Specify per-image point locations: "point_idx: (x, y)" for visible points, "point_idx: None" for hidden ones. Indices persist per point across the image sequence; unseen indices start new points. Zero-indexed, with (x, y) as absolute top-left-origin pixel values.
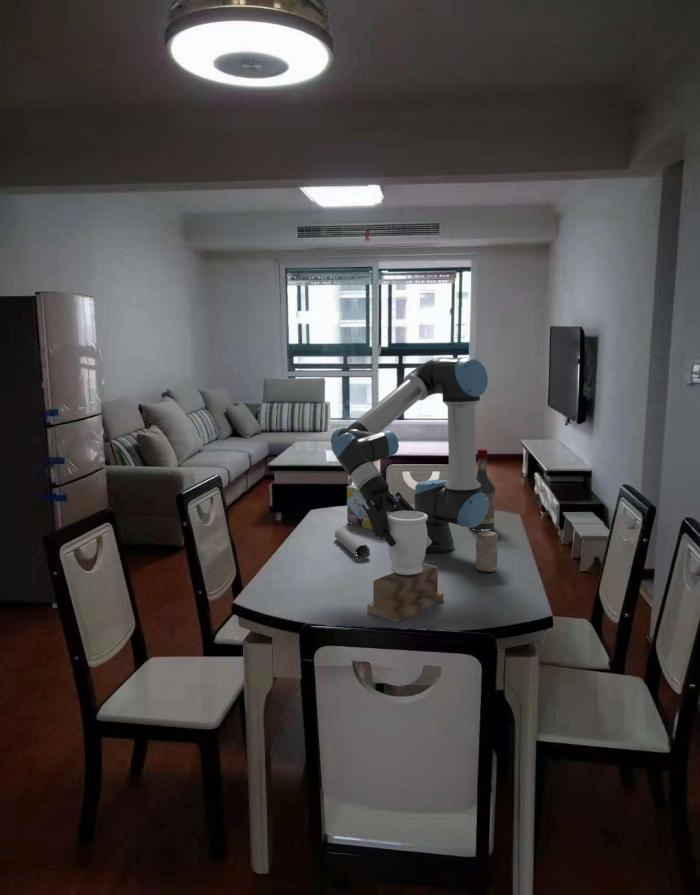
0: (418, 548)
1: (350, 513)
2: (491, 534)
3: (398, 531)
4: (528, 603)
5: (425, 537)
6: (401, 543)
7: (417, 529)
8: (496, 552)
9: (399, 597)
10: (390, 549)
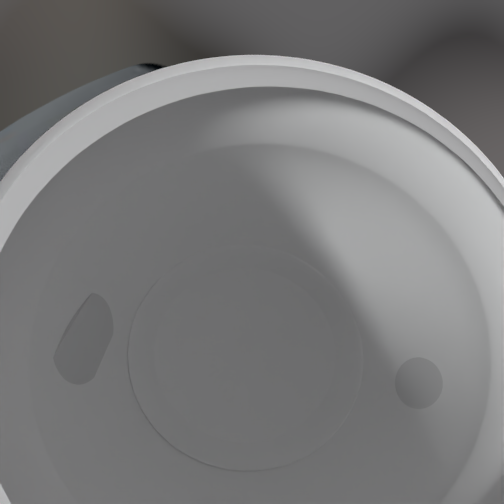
0: (311, 238)
1: None
2: None
3: (465, 352)
4: (75, 106)
5: (251, 190)
6: (409, 322)
7: (378, 187)
8: None
9: None
10: (361, 415)
